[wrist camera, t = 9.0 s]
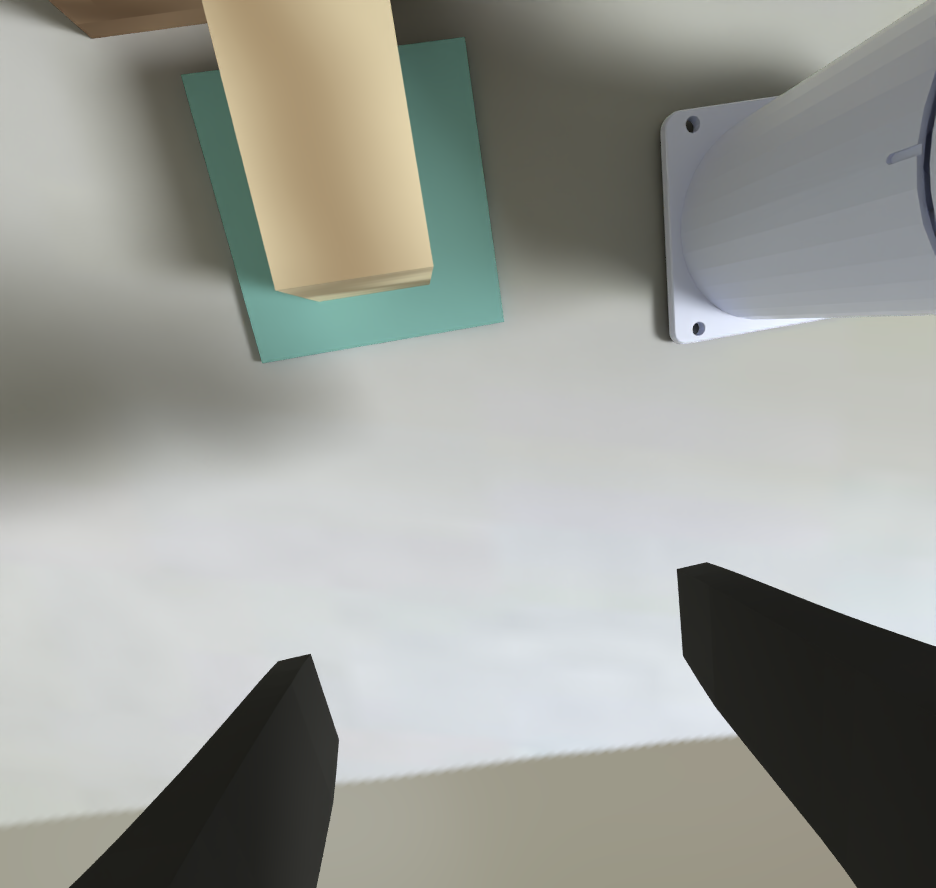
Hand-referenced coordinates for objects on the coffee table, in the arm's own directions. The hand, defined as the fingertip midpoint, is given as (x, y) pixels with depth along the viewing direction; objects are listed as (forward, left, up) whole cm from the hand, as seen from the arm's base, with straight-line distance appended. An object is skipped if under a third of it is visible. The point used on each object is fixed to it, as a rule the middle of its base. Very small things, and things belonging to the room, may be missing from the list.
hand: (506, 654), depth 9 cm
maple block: (+2, -11, -10) cm, 15 cm away
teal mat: (+2, -10, -10) cm, 15 cm away
